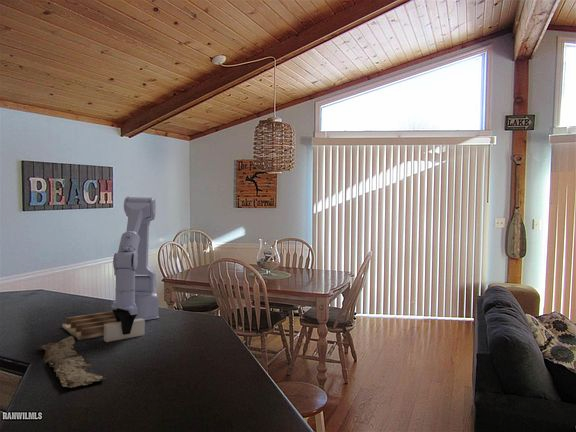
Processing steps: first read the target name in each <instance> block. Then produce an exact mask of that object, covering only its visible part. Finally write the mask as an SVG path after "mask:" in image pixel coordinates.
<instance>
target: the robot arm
mask: <svg viewBox="0 0 576 432" xmlns="http://www.w3.org/2000/svg"><path fill="white" fill-rule="evenodd" d="M156 207H157V205H156V199H155V198H154V197H153V196H151V197H144V196H142V197H141V196H140V197H137V196H126V197H125V198H124V201H123V211H124V213H125V216H126V217H127V224H126V230H125V232H123V233H122V234H121V238H120V240H119V241H120V242H119V245H118V249H117V252H115V253H114V255H113V258H112V259H113V260H112V261H113V262H112V268H113V274H114V275H113V276H115V297H114V298H115V299H113V300H112V304H111V305H110V306H111V308H112V310H111V311H112V312H113V314H114V316H115V318H116V321H117V322H121V325H122V333H123V335H126V334H130V332H131V329H132V325H133V322H134V319H140V318H142V319H144V320H145V321H149V320H155V319H159V318H160V316H159V305H160V304H159V303H160V301H159V297H158V293H156V288H157V279H156V271H155V270H153V269H152V268H151V267H149V235H150V232H149V231H150V224H151V221H155V218H156Z"/></svg>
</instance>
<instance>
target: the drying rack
mask: <svg viewBox="0 0 576 432" xmlns="http://www.w3.org/2000/svg"><path fill="white" fill-rule="evenodd" d="M115 322H117V321H116V318H115V316H114V314H113V312H112V310H111V311H104V312H97V313H89V314H84V315H77V316H69V317H65V323H62V324H61V325H62V328H63V329H64V330H65V331H67V332H68V333H69V334H70V335H71V336H73V338H76V339H77V340H78V341H82V340H87V339H92V338H98V337H104V324H108V323H115Z"/></svg>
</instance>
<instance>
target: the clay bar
mask: <svg viewBox="0 0 576 432" xmlns="http://www.w3.org/2000/svg"><path fill="white" fill-rule="evenodd" d="M145 326H146V320H144V319H142V318H140V319H134V322H133V325H132V329H131V332H130V334H126V335H123V333H122V325H121V322H115V323H108V324H104V336H103V341H104V342H106V343H109V342H114V341H120V340H125V339H130V338H135V337H141V336H145V334H146V333H145V332H146V331H145V328H146V327H145Z"/></svg>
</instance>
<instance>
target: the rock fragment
mask: <svg viewBox="0 0 576 432" xmlns="http://www.w3.org/2000/svg"><path fill="white" fill-rule="evenodd" d="M75 342H76V340H75V337H74V336H73V335H69V336H67V337H65V338H63V339H61V340H59V341H58V342H48V343H46V344H42V345H41V346H39V347H38V348H41V350H44V356H43V359H42V361H43V362H44V364H47V363H48V364H49V367H50V368H53V372H54V373H56V374H55V377H56V378H58V379H59V380H60V381H59V382H60V384H61V386H62V387H63V388H70V389H72V388H77V387H80V386H88V385H92V384H93V383H94V382H100V381H102V380H105V379H106V377H103V375H100V374H99V373H97V374H96V373H93V372H87V371H86V370H89V369H91V370H92V364H89V360H87V361H86V362H85V359H84V357H83V355H81V354H78V352H77V350H76V349H75V346H74V344H76V343H75Z"/></svg>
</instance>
